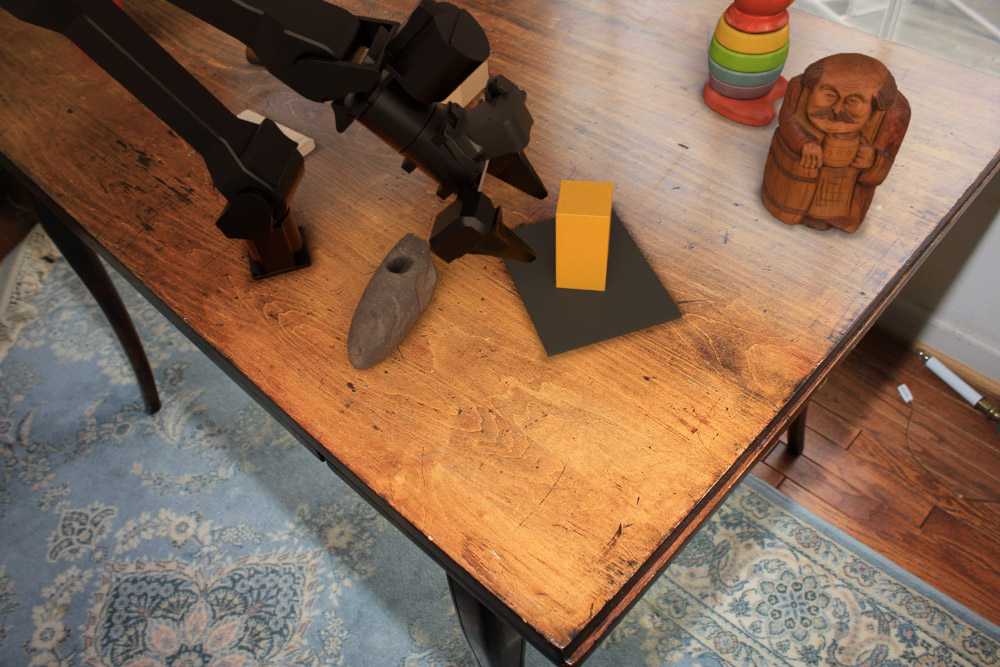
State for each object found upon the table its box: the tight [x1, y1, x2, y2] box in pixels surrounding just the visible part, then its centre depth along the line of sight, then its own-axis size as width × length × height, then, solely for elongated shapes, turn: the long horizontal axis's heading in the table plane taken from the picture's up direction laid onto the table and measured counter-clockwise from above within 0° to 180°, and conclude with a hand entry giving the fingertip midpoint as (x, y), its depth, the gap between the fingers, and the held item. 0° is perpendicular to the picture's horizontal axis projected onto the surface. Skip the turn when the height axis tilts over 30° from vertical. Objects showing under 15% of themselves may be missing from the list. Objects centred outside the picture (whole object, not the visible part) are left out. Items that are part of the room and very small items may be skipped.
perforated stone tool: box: [346, 232, 439, 371], centre depth 72 cm, size 15×5×7 cm, turn 155°
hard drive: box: [236, 109, 316, 157], centre depth 95 cm, size 2×8×12 cm
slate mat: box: [502, 207, 683, 358], centre depth 78 cm, size 18×14×1 cm
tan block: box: [438, 59, 490, 109], centre depth 100 cm, size 7×7×4 cm
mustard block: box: [555, 179, 614, 291], centre depth 74 cm, size 5×5×10 cm
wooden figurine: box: [760, 52, 912, 234], centre depth 75 cm, size 12×6×18 cm, turn 67°
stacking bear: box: [702, 0, 796, 127], centre depth 89 cm, size 11×10×18 cm
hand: (539, 227), depth 73 cm, fingers open, 9 cm apart
